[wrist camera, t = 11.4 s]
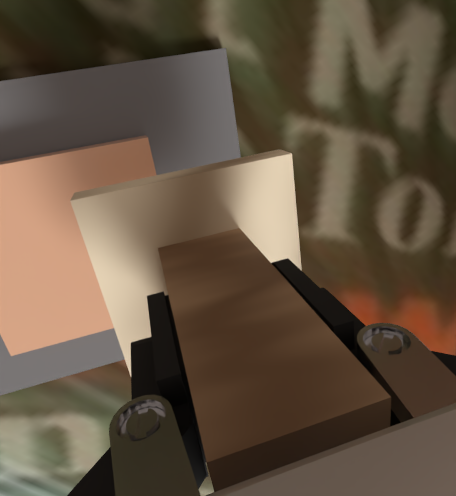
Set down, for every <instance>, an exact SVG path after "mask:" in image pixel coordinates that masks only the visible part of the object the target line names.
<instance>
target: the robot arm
mask: <svg viewBox="0 0 456 496" xmlns="http://www.w3.org/2000/svg"><path fill="white" fill-rule="evenodd" d="M271 264H272V265H273V266H274V267H275V268H276V269H277V270H278V271H279V273H280V274H281V275H282V276H283V277H284V278H285V279H286V280H287V281H288V283H289V284H290V285H291V286H292V287H293V288H294V289H295V290H296V292H297V293H298V294H299V295H300V296H301V297H302V298H303V299H304V300H305V302H306V303H307V304H308V305H309V306H310V307H311V308H312V309H313V310H314V312H315V313H316V314H317V315H318V316H319V317H320V318H321V319H322V320H323V322H324V323H325V324H326V325H327V326H328V327H329V328H330V329H331V331H332V332H333V333H334V334H335V335H336V336H337V337H338V338H339V339H340V341H341V342H342V343H343V344H344V345H345V346H346V347H347V348H348V349H349V351H350V352H351V353H352V354H353V355H354V356H355V357H356V358H357V360H358V361H359V362H360V363H361V364H362V365H363V366H364V367H365V368H366V370H367V371H368V372H369V373H370V374H371V375H372V376H373V377H374V378H375V380H376V381H377V382H378V383H379V384H380V385H381V386H382V387H383V388H384V390H385V391H386V392H387V393H388V394H389V395H390V396H391V417H390V427H388V428H385V429H383V430H380V431H377V432H375V433H372V434H369V435H366V436H364V437H361V438H358V439H356V440H353V441H350V442H348V443H345V444H342V445H339V446H337V447H334V448H331V449H329V450H326V451H323V452H321V453H318V454H315V455H312V456H310V457H307V458H304V459H302V460H299V461H296V462H294V463H291V464H288V465H286V466H283V467H280V468H277V469H275V470H272V471H269V472H267V473H264V474H261V475H259V476H256V477H254V478H251V479H248V480H246V481H243V482H240V483H238V484H235V485H232V486H230V487H227V488H224V489H222V490H219V491H216V492H214V493H211V494H208V495H206V496H456V356H454V355H449V354H444V353H439V352H434V351H430V350H429V349H428V348H427V347H426V346H425V345H424V344H423V343H422V342H421V341H420V340H419V339H418V338H417V337H416V336H415V335H414V334H413V333H411V332H410V331H409V330H407V329H405V328H403V327H401V326H398V325H394V324H390V323H376V324H371V325H368V326H365V325H364V324H363V323H362V322H361V321H360V320H359V319H358V318H357V317H355V316H354V315H353V314H352V313H351V312H350V311H349V310H348V309H347V308H346V307H345V306H344V305H342V304H341V303H340V302H339V301H338V300H337V299H336V298H335V297H334V296H333V295H332V294H331V293H329V292H328V291H327V290H326V289H325V288H319V287H318V286H317V285H316V284H315V283H314V282H313V281H312V280H311V279H310V278H309V277H307V276H306V275H305V274H304V273H303V272H302V271H301V270H300V269H299V268H298V267H297V266H296V265H295V264H294V263H293V262H292V261H291V260H290V259H288V258H287V259H283V260H279V261H275V262H272V263H271ZM147 302H148V311H149V320H150V328H151V337H148V338H145V339H141V340H138V341H134V342H131V387H132V400H131V401H129V402H127V403H126V404H125V405H124V406H122V407H121V408H120V409H119V410H118V411H117V413H116V414H115V415H114V416H113V419H112V421H111V423H110V428H109V436H110V446H111V447H110V448H109V449H108V450H107V451H106V453H105V454H104V455H103V456H102V457H101V458H100V459H99V460H98V462H97V463H96V464H95V465H94V466H93V467H92V468H91V469H90V471H89V472H88V473H87V474H86V475H85V476H84V477H83V478H82V480H81V481H80V482H79V483H78V484H77V485H76V486H75V487H74V489H73V490H72V491H71V492H70V493H69V494H68V495H67V496H200V493H199V490H198V489H199V487H200V486H201V484H202V482H203V481H204V479H205V477H208V472H207V468H206V463H205V462H206V457H205V453H204V449H203V444H202V440H201V435H200V431H199V427H198V422H197V418H196V413H195V409H194V405H193V400H192V396H191V392H190V387H189V383H188V378H187V374H186V370H185V365H184V361H183V356H182V352H181V348H180V343H179V339H178V334H177V330H176V326H175V321H174V317H173V313H172V308H171V304H170V299H169V295H165V294H164V291H163V292H159V293H155V294H152V295H148V296H147Z"/></svg>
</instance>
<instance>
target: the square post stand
mask: <svg viewBox="0 0 456 496" xmlns="http://www.w3.org/2000/svg"><path fill="white" fill-rule="evenodd" d="M70 202H71V205H72V208H73V211H74V214H75V216H76V219H77V222H78V225H79V228H80V231H81V234H82V237H83V240H84V242H85V245H86V248H87V251H88V254H89V257H90V260H91V263H92V266H93V268H94V271H95V274H96V277H97V280H98V283H99V286H100V289H101V292H102V294H103V297H104V300H105V303H106V306H107V309H108V312H109V315H110V318H111V321H112V323H113V326H114V329H115V332H116V335H117V338H118V341H119V344H120V347H121V349H122V352H123V355H124V358H125V361H126V364H127V367H128V370H129V373H130V375H131V342H134V341H138V340H141V339H145V338H148V337H151V328H150V320H149V311H148V302H147V296H148V295H152V294H155V293H159V292H163V291H164V294H165V295H169V299H170V304H171V308H172V313H173V317H174V321H175V326H176V330H177V334H178V339H179V343H180V348H181V352H182V356H183V361H184V365H185V370H186V374H187V378H188V383H189V387H190V392H191V396H192V400H193V405H194V409H195V413H196V418H197V422H198V427H199V431H200V435H201V440H202V444H203V449H204V453H205V457H206V462H207V466H208V469H209V473H210V477H211V480H212V484H213V488H214V492H216V491H219V490H222V489H224V488H227V487H230V486H232V485H235V484H238V483H240V482H243V481H246V480H248V479H251V478H254V477H256V476H259V475H261V474H264V473H267V472H269V471H272V470H275V469H277V468H280V467H283V466H286V465H288V464H291V463H294V462H296V461H299V460H302V459H304V458H307V457H310V456H312V455H315V454H318V453H321V452H323V451H326V450H329V449H331V448H334V447H337V446H339V445H342V444H345V443H348V442H350V441H353V440H356V439H358V438H361V437H364V436H366V435H369V434H372V433H375V432H377V431H380V430H383V429H385V428H388V427H390V417H391V396H390V395H389V394H388V393H387V392H386V391H385V390H384V388H383V387H382V386H381V385H380V384H379V383H378V382H377V381H376V380H375V378H374V377H373V376H372V375H371V374H370V373H369V372H368V371H367V370H366V368H365V367H364V366H363V365H362V364H361V363H360V362H359V361H358V360H357V358H356V357H355V356H354V355H353V354H352V353H351V352H350V351H349V349H348V348H347V347H346V346H345V345H344V344H343V343H342V342H341V341H340V339H339V338H338V337H337V336H336V335H335V334H334V333H333V332H332V331H331V329H330V328H329V327H328V326H327V325H326V324H325V323H324V322H323V320H322V319H321V318H320V317H319V316H318V315H317V314H316V313H315V312H314V310H313V309H312V308H311V307H310V306H309V305H308V304H307V303H306V302H305V300H304V299H303V298H302V297H301V296H300V295H299V294H298V293H297V292H296V290H295V289H294V288H293V287H292V286H291V285H290V284H289V283H288V281H287V280H286V279H285V278H284V277H283V276H282V275H281V274H280V273H279V271H278V270H277V269H276V268H275V267H274V266H273V265H272V264H271V263H272V262H275V261H279V260H283V259H287V258H288V259H290V260H291V261H292V262H293V263H294V264H295V265H296V266H297V267H298V268H299V269H300V270H301V258H300V246H299V234H298V222H297V210H296V198H295V186H294V174H293V162H292V153H289V152H286V151H283V150H280V149H279V150H275V151H270V152H265V153H260V154H255V155H251V156H246V157H241V158H236V159H232V160H227V161H222V162H217V163H213V164H208V165H203V166H198V167H194V168H189V169H184V170H179V171H175V172H170V173H165V174H160V175H156V176H151V177H146V178H141V179H137V180H132V181H127V182H122V183H118V184H113V185H108V186H103V187H99V188H94V189H89V190H84V191H79V192H75V193H74V194H73V196H72V198H71V200H70ZM301 271H302V270H301Z"/></svg>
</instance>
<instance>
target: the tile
mask: <svg viewBox="0 0 456 496" xmlns="http://www.w3.org/2000/svg"><path fill="white" fill-rule="evenodd" d="M151 176H156V171H155V166H154V162H153V158H152V153H151V149H150V145H149V140H148V137H147V136H146V135H144V136H139V137H133V138H128V139H122V140H117V141H111V142H106V143H101V144H95V145H90V146H84V147H79V148H73V149H68V150H63V151H57V152H52V153H46V154H41V155H35V156H30V157H25V158H19V159H14V160H8V161H3V162H0V335H1V337H2V339H3V341H4V343H5V345H6V347H7V349H8V351H9V353H10V355H11V356H14V355H17V354H21V353H25V352H28V351H32V350H36V349H39V348H43V347H46V346H50V345H54V344H57V343H61V342H65V341H68V340H72V339H76V338H79V337H83V336H87V335H90V334H94V333H98V332H101V331H105V330H109V329H112V328H114V326H113V323H112V321H111V318H110V315H109V312H108V309H107V306H106V303H105V300H104V297H103V294H102V292H101V289H100V286H99V283H98V280H97V277H96V274H95V271H94V268H93V266H92V263H91V260H90V257H89V254H88V251H87V248H86V245H85V242H84V240H83V237H82V234H81V231H80V228H79V225H78V222H77V219H76V216H75V214H74V211H73V208H72V205H71V202H70V200H71V198H72V196H73V194H74V193H75V192H79V191H84V190H89V189H94V188H99V187H103V186H108V185H113V184H118V183H122V182H127V181H132V180H137V179H141V178H146V177H151Z"/></svg>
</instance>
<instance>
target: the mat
mask: <svg viewBox="0 0 456 496" xmlns="http://www.w3.org/2000/svg"><path fill="white" fill-rule="evenodd" d="M144 135H146V136H147V137H148V140H149V145H150V149H151V153H152V158H153V162H154V166H155V171H156V175H160V174H165V173H170V172H175V171H179V170H184V169H189V168H194V167H198V166H203V165H208V164H213V163H217V162H222V161H227V160H232V159H236V158H241V156H240V149H239V141H238V134H237V127H236V119H235V112H234V105H233V98H232V90H231V83H230V76H229V68H228V61H227V54H226V48H222V49H216V50H209V51H202V52H195V53H188V54H182V55H175V56H168V57H161V58H154V59H148V60H141V61H134V62H127V63H120V64H114V65H107V66H100V67H93V68H87V69H80V70H73V71H66V72H59V73H53V74H46V75H39V76H32V77H25V78H19V79H12V80H5V81H0V162H3V161H8V160H14V159H19V158H25V157H30V156H35V155H41V154H46V153H52V152H57V151H63V150H68V149H73V148H79V147H84V146H90V145H95V144H101V143H106V142H111V141H117V140H122V139H128V138H133V137H139V136H144ZM124 359H125V358H124V355H123V352H122V349H121V347H120V344H119V341H118V338H117V335H116V332H115V329H114V328H112V329H109V330H105V331H101V332H98V333H94V334H90V335H87V336H83V337H79V338H76V339H72V340H68V341H65V342H61V343H57V344H54V345H50V346H46V347H43V348H39V349H36V350H32V351H28V352H25V353H21V354H17V355H14V356H11V355H10V353H9V351H8V349H7V347H6V345H5V343H4V341H3V339H2V337H1V335H0V395H3V394H7V393H10V392H13V391H17V390H20V389H24V388H27V387H31V386H34V385H38V384H41V383H44V382H48V381H51V380H55V379H58V378H62V377H65V376H69V375H72V374H76V373H79V372H82V371H86V370H89V369H93V368H96V367H100V366H103V365H107V364H110V363H113V362H117V361H120V360H124Z"/></svg>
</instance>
